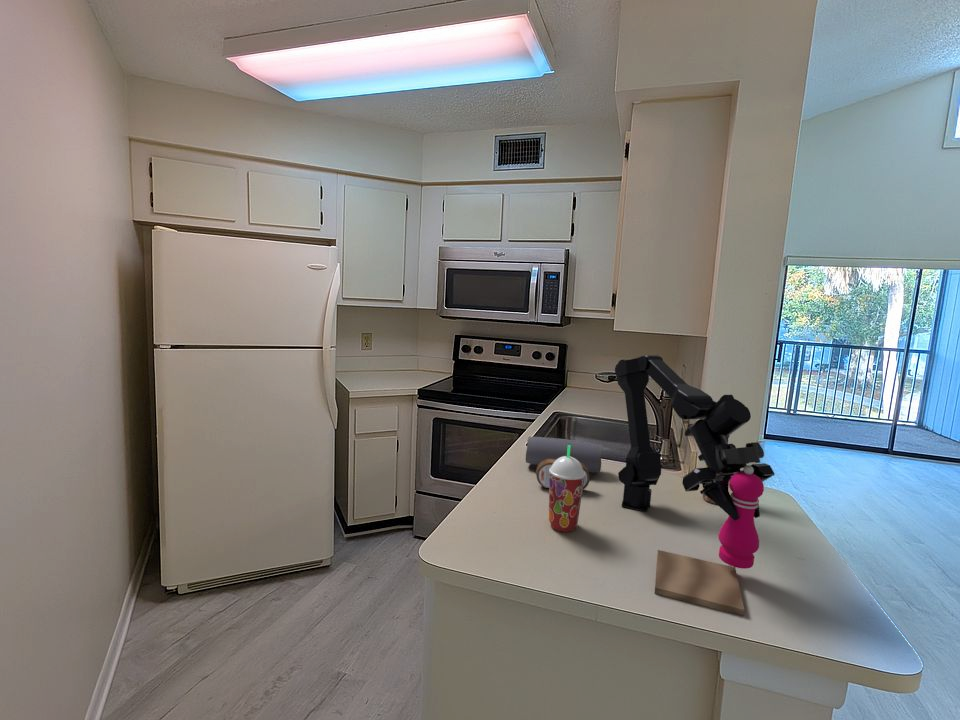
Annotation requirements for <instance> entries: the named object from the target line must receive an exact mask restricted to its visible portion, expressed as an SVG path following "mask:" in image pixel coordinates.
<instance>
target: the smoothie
mask: <svg viewBox="0 0 960 720" xmlns="http://www.w3.org/2000/svg"><path fill="white" fill-rule="evenodd" d="M584 477H585V472H584V471H583V468H582V465H581V464H580V462H579V461H578V460H577V459H575V458H573V457H571V456H570V445H568V448H567V456H563V457H560V458H558V459H557V460H556V461H555V462H554V463H553V464H552V466H551V467H550V468H549V489H548V521H549V523H550V527H551V528H553V529H554V530H556V531H558V532H565V533H569V532H572V531H574V530H575V528H576V526H577V525H578V523H579V522H578V521H579V517H580V510H581V503H582V497H583V492H584V491H583V490H584V489H583V484H584Z"/></svg>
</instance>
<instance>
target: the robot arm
mask: <svg viewBox="0 0 960 720" xmlns="http://www.w3.org/2000/svg"><path fill="white" fill-rule="evenodd" d="M614 373H615V377H616V381H617V385H618V386H619V388H621V390H622V392H623V393H624V398H625V399H624V400H625V407H626V414H627V423H628V432H629V441H630V448H629V450H628V452H627V455H626V456H625V466H624V467H623V468H621V470H620V471H619V472H618V473H617V475H618V482H620V483H622V484H623V485H624V486H623V494H622V502H621V507H622V508H627V509H632V510H635V511H641V512H648V508H650V507H651V500H652V491H653V490H652V489H651V487H650V486H657V483H658V482H659V479H660V477H661V475H662V469H663V466H662V462H661V453H660V452H657V451H655V450H654V448H653V447H652V444H651V437H650V431H649V429H650V428H649V421H648V412H647V404H646V403H647V402H646V397H645V390H646V388H647V386H648V383H649V382H650V378H651V379H652V380H653V381H654V382H655V383H656V385H658V386H659V387H660V388H661V389H662V390H663V391H664V393H665V394H667V396H668V397H669V399H670V401H671V402H670V404H671V408H672V409H673V410H674V411H675V413H676V415H677V416H678V417H679V419H682V420H686V421H687V420H696V421H695V422H694V423H688V424H687V427H686V430H684V436H685V437H693V439H694V441H695V444H696V445H697V447H698V450H699V452H700V454H699V455H698V456H697V458H698V460H699V461H700V462H701V461H704V463H705V465H707V468H705V467H699V468H694V469H692V470H691V471H690V472H689V473H687V474H686V475H684V476H683V477H682V484H681V485H683V488H684V490H685V492H696V491H698V490H699V489H700V485H702V489H701V490H700V491H699V493H700V495H703V494H704V495H706V496H707V497H708V498H710V499H711V500H712V501H713V502H715V503H716V504H715V505H717V506H718V507H719V508H720V509H722V510H723V511H724V512H725V513H726V514H727V515H728V517H729V516H730V517H731V518H732V519H734V520H738V519H739V516H738V513H737V510H736V507H735V505H734V503H733V500H732V498H731V496H730V494H731V493H730V491H729V482H730V478H731V477H732V476H733V475H734V474H735V473H737V472H744V470H741V469H744V467H745V466H747V464H750V463H753V464H751V465H749V466H752V467H753V469H754V472H753V474H755V475H757V476H758V477H759V478H760V479H761V480H762V482H763V483H764V482H765V481H766V480H768V479H770V478H772V477H773V476H775V475H776V474H775V472H774V470H773V468H772V466H771V465H770V464H767V463H765V462H763V463H761V459H763V458H764V457H765V452H764V449H763V447H762V445H761V444H760V443H759V442H758V441H756V442H747V443H746V444H745V447H744V446H742V447H736V445H735V444H733V443H729V442H728V443H727V441H726V439H725V437H724V435H725V436H728V435H730V436H731V435H732V434H733V433H734V432H736V431H737V430H738V429H740V428H741V427H743V426H744V425H746V424H748V422H749V421H750V420H751V412H750V410H749V409H750V408H748V407H747V406H746V405H745V404H744V403H743V402H741V401H739V400H738V399H735V397H734V395H733V394H723V395H722V396H720V398H719V400H718V401H715V400H714V399H713V398H712V396H711V395H710V394H708V393H707V392H705V391H703V390H702V389H700V388H697V387H694V386H691V385H690V384H688V383H687V382H685V380H684V379H683V378H681V376H679V375H678V374H677V373H676V372H675V370H673V369H672V368H671V367H670V366H669V365H668V363H666V362H665V361H664V360H663V358H662V356H660V355H658V354H645V355H641V356H639V357H635V358H631V359H620V360H618V363H617V364H616V365H615V367H614ZM703 488H704V489H703ZM759 503H760V502H759ZM759 503H758V507H757V508H755V512H754V519H757V518H759V517H760V516H761V513H760V512H761V511H760V505H759Z"/></svg>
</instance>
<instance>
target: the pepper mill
mask: <svg viewBox="0 0 960 720" xmlns="http://www.w3.org/2000/svg"><path fill="white" fill-rule="evenodd" d="M746 465H747V464H746ZM742 469H743V470H744V472H737V473H735V474H734V475H733V476H731V478H730V481H729V485H728V488H729V489H730V491H731V493H729V494H730V496H731V498H732V500H733V503H734V505H735V507H736V510H737V513H738V516H739V519H738V520H734V519H732V518H731V517H730V516H729V515H728V517H727V519H726V520H725V521H724V522H723V524H722V525H721V528H720V529H719V533H718V541H719V542H720V544H721V545H720V546H719V549H718V557H719V559H720V560H721V561H722V562H723V563H725V565H727V566H732V567H735V568H737V569H750V568H753V567H754V564H755V563H754V562H755V555H754V554H755V553H756V552H757V551H758V550H759V548H760V538H759V533H758V530H757V528H756V525H755V517H754V512H755V508H757V507H758V503H760V500H759V498H760V497H761V496H762V495H763V494H764V492H765V491H764V490H765V487H764V485H765V484H764V481H763V482H762V480H761V479H760V478H759V477H758V476H757V475H755V474H753V472H754V469H753V467H752V466H750V465H747V466H745V467H744V468H742Z"/></svg>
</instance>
